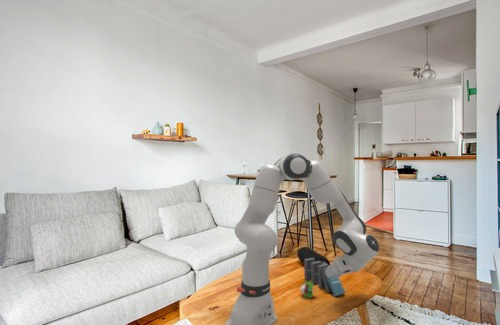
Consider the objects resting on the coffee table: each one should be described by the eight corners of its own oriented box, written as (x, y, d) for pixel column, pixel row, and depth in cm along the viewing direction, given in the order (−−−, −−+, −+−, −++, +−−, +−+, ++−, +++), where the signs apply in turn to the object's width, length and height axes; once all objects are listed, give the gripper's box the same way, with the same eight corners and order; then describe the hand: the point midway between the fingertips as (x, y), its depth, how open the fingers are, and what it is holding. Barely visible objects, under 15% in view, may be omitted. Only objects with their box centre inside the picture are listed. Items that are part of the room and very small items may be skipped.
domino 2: (322, 282, 148) (321, 261, 148) (314, 285, 145) (313, 263, 145) (319, 281, 149) (319, 260, 150) (311, 283, 147) (310, 262, 147)
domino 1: (315, 279, 153) (314, 258, 153) (307, 281, 150) (306, 260, 150) (312, 277, 154) (312, 257, 154) (304, 280, 152) (304, 259, 152)
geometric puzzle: (307, 285, 140) (302, 276, 136) (320, 289, 135) (315, 279, 131) (301, 299, 135) (296, 289, 132) (314, 303, 131) (309, 293, 127)
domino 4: (337, 289, 138) (331, 265, 141) (329, 292, 135) (323, 268, 139) (334, 289, 140) (328, 266, 143) (326, 292, 137) (320, 268, 141)
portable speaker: (296, 262, 180) (296, 246, 180) (310, 260, 182) (310, 244, 182) (316, 277, 155) (316, 259, 155) (332, 275, 158) (332, 257, 158)
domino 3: (329, 286, 143) (328, 264, 143) (321, 289, 140) (320, 266, 141) (327, 285, 145) (326, 263, 145) (318, 287, 142) (317, 265, 142)
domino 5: (345, 292, 133) (335, 269, 139) (336, 295, 131) (326, 271, 137) (343, 293, 135) (332, 270, 141) (334, 296, 132) (324, 273, 138)
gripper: (364, 251, 133) (348, 265, 141) (331, 259, 123) (317, 273, 132) (372, 263, 129) (356, 277, 137) (339, 272, 119) (324, 287, 128)
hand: (336, 275), depth 134 cm, fingers closed
